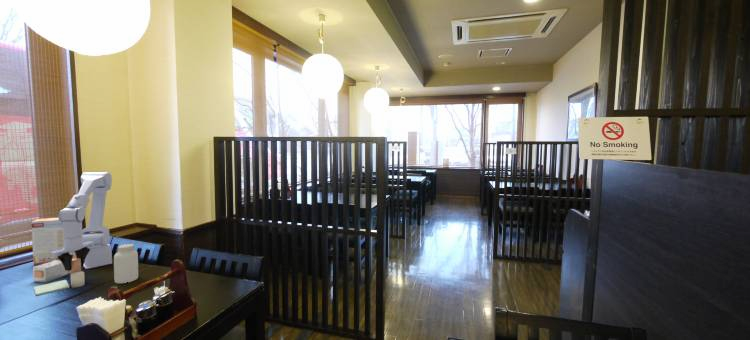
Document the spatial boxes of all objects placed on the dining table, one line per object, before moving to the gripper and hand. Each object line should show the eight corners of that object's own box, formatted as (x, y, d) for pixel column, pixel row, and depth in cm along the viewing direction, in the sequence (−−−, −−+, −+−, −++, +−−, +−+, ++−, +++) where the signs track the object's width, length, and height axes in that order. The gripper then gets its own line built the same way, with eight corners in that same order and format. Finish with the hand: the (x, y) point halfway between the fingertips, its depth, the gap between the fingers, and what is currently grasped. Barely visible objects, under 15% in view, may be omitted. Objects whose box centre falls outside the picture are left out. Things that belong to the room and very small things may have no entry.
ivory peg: (83, 282, 127) (83, 270, 127) (85, 285, 125) (85, 273, 125) (70, 285, 124) (69, 273, 124) (71, 288, 122) (71, 276, 121)
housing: (57, 273, 135) (56, 259, 135) (68, 274, 134) (68, 260, 134) (32, 281, 126) (31, 267, 126) (44, 283, 126) (43, 268, 125)
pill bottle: (142, 277, 133) (142, 244, 132) (122, 285, 126) (121, 249, 124) (130, 274, 136) (129, 241, 135) (109, 282, 128) (108, 247, 127)
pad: (65, 281, 128) (65, 279, 128) (69, 287, 122) (69, 286, 122) (33, 288, 121) (33, 286, 121) (36, 295, 115) (36, 294, 115)
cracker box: (78, 257, 154) (76, 216, 152) (72, 261, 149) (70, 218, 147) (40, 260, 148) (38, 218, 146) (32, 265, 143) (30, 221, 141)
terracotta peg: (80, 268, 132) (79, 257, 131) (82, 271, 129) (81, 259, 129) (67, 271, 128) (66, 260, 128) (68, 274, 126) (68, 262, 126)
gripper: (84, 230, 135) (85, 260, 136) (43, 240, 121) (45, 274, 122) (97, 232, 134) (98, 262, 135) (58, 242, 120) (60, 275, 121)
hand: (74, 268), depth 129 cm, fingers closed on terracotta peg, 4 cm apart
